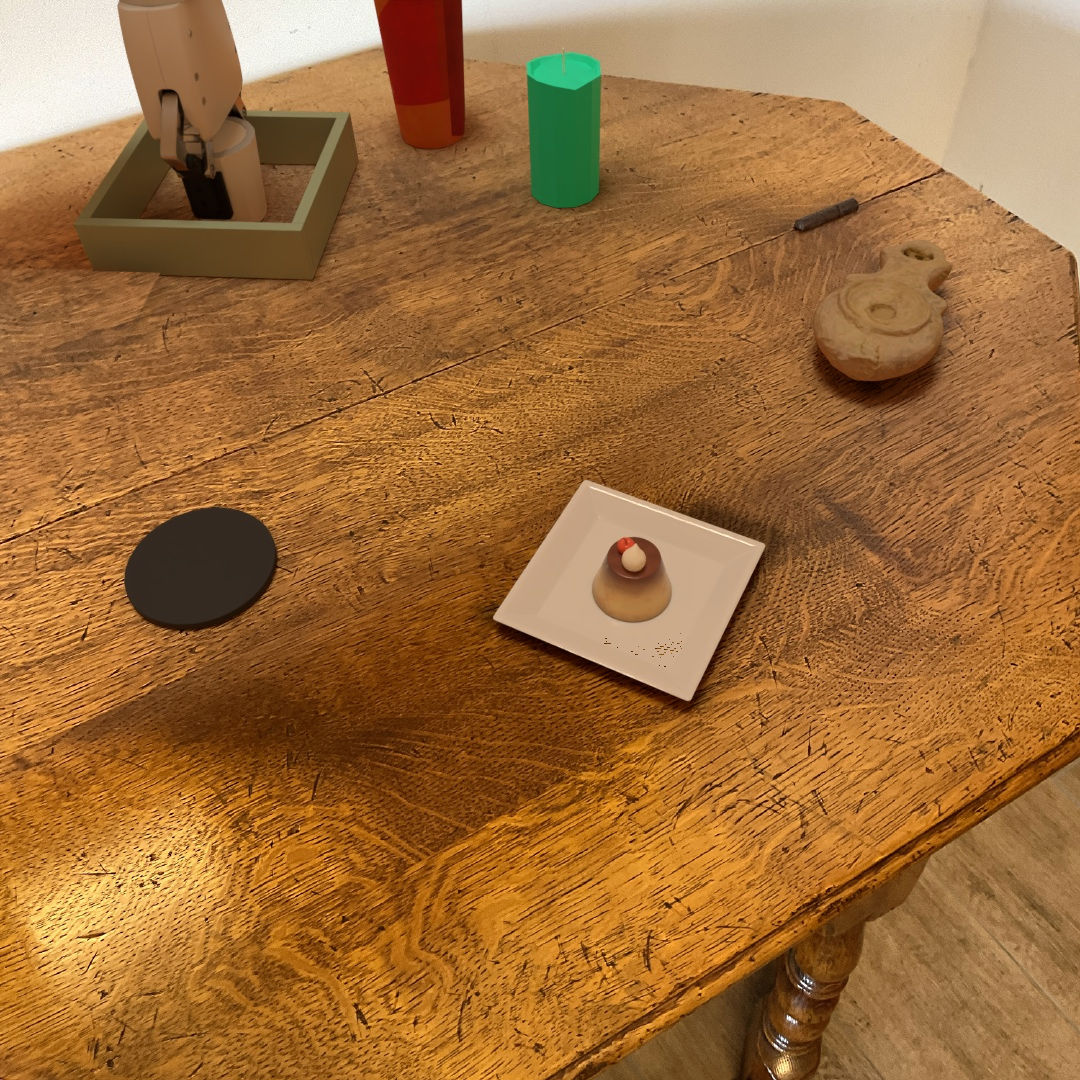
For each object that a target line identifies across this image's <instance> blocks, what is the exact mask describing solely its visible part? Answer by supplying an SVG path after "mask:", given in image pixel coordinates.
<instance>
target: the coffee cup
mask: <svg viewBox="0 0 1080 1080" xmlns="http://www.w3.org/2000/svg"><path fill="white" fill-rule="evenodd" d="M373 4H374V9H375V14H376V19H377V23H378V24H377V25H378V29H379V34H380V38H381V44H382V50H383V54H384V60H385V64H386V68H387V73H388V79H389V83H390V89H391V94H392V98H393V103H394V108H395V113H396V117H397V123H398V127H399V130H400V135H401V138H402V140H403V141H404V142H405V143H406V144H408V145H410V146H412V147H414V148H417V149H425V150H435V149H442V148H446V147H450V146H452V145H454V144H456V143H457V142H459V141H460V140H461V139H462V138H463V137H464V135H465V132H466V98H465V97H466V96H465V95H466V94H465V93H466V91H465V90H466V89H465V58H464V57H465V55H464V52H465V51H464V23H463V19H464V18H463V0H373Z"/></svg>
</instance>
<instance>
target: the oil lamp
mask: <svg viewBox="0 0 1080 1080" xmlns="http://www.w3.org/2000/svg"><path fill="white" fill-rule="evenodd" d="M946 258H947V257H946V254H945V251H944V249H942V247H940V246H939V245H938V244H936V243H935V242H933V241H928V240H925V239H915V240H909V241H906V242H902V243H899V244H896V245H885V246H883V247H882V248H881V249H880V252H879V269H880V270H877V271H876V272H873V273H849V274H847V275H846V276H845V278H844V280H843V285H842V287H839V288H836V289H835V290H834V291H832V292H830V293H829V294H828V295H827V296H825V298H823V299H822V300H821V301H820V302H819V304H817V307H816V308H815V311H814V313H813V319H812V329H813V336H814V339H815V341H816V344H817V346H818V348H819V350H820V351H821V353H822V354H823V356H824V357H825V358H826V360H828V362H829V364H830V365H831V366H832V367H833V368H835V369H836V370H838V371H839V372H841V373H842V374H843V375H845V376H846V377H848V378H851V379H852V380H855V381H863V382H879V381H885V380H889V379H894V378H898V377H901V376H904V375H907V374H910V373H913V372H915V371H917V370H919V369H920V368H922V367H923V366H925V365H926V364H928V362H929V361H930V360H932V358H933V356H934V355H935V354H936V353H937V351H938V349H939V347H940V345H941V343H942V339H943V337H944V321H943V316H944V314H945V313H946V311H947V310H948V309H949V303H948V301H947V300H945V299H944V298H943V297H941V296H939V295H938V294H937V293H935V291H937V290H938V289H939V287H940V286H941V285H942V284H943V283H944V282H945V281H946V280H947V278H948V277H949V276H950V274H951V272H952V270H953V265H954V264H953V263H952V262H951V261H948V260H946Z"/></svg>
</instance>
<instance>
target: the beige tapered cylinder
mask: <svg viewBox="0 0 1080 1080" xmlns="http://www.w3.org/2000/svg"><path fill="white" fill-rule="evenodd" d="M184 134H200V133H199V130H198V128H194V127H193V126H189V125H184ZM212 141H213V150H214V159H215V168H216V171H221V172H222V175H223V179H224V182H225V185H226V189H227V192H228V195H229V199H230V202H231V205H232V209H233V212H234V214H233V216H232V218H231V219H230V220H214V219H200V221H230V222H261V221H263V220H264V218H265V217H266V215H267V214H268V205H267V197H266V191H265V186H264V179H263V173H262V167H261V163H260V161H259V155H258V148H257V142H256V136H255V130H254V127H253V126H252V125H251V124H250V123H249V122H248V121H245V120H242V119H240V118H237V117H228V116H227V117H226V119H225V121H224V123H223V124H222V126H221V127H220V129H219V131H218V132H217V133H216V135H215V136H214V137H213V138H212ZM185 145H186V150H187V151H188V153H189V154H194V155H196V156H197V157H199V158H200V159H202V154H201V146H200V143H186V142H185Z"/></svg>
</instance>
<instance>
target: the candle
mask: <svg viewBox="0 0 1080 1080" xmlns="http://www.w3.org/2000/svg"><path fill="white" fill-rule="evenodd" d="M526 83H527V84H526V86H527V109H528V110H527V111H528V113H527V114H528V137H529V138H528V139H529V163H530V164H529V165H530V166H529V167H530V189H531V190H530V191H531V196H532V197H533V198H534V199H535V200H537V201H538V203H540V204H541V205H544V206H549V207H552V208H555V209H563V208H564V209H565V208H566V209H567V208H568V209H569V208H578V207H579V206H583V205H585V204H588V203H591V202H592V200H594V199H595V198H596V196H597V195H598V194H599V193H600V157H601V156H600V155H601V154H600V152H601V151H600V149H601V148H600V147H601V101H602V100H601V97H602V96H601V95H602V69H601V61H600V60H598V59H597V58H594V57H593V56H591V55H590V54H589V55H588V54H584V53H578V52H573V51H570V52H565V47H562V53H555V54H548V55H544V56H538V57H535V58H533V59H531V60H529V61H527V62H526Z"/></svg>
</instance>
